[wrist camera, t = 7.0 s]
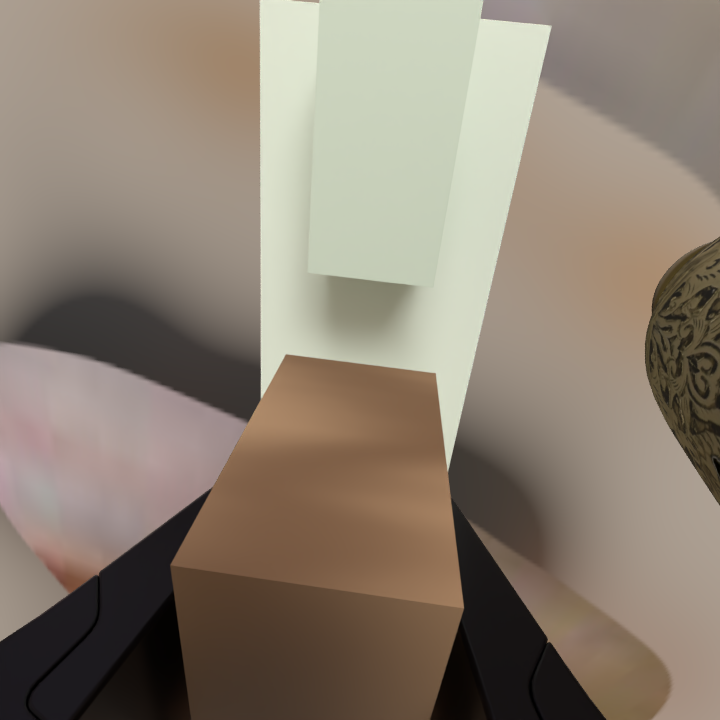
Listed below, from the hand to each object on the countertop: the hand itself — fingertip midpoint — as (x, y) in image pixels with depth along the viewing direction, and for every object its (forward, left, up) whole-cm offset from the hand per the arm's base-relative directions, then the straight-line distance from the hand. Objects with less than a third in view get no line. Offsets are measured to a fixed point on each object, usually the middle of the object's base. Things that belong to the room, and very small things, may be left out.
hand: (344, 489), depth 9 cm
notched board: (0, 0, -7) cm, 7 cm away
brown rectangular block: (0, 0, -1) cm, 1 cm away
